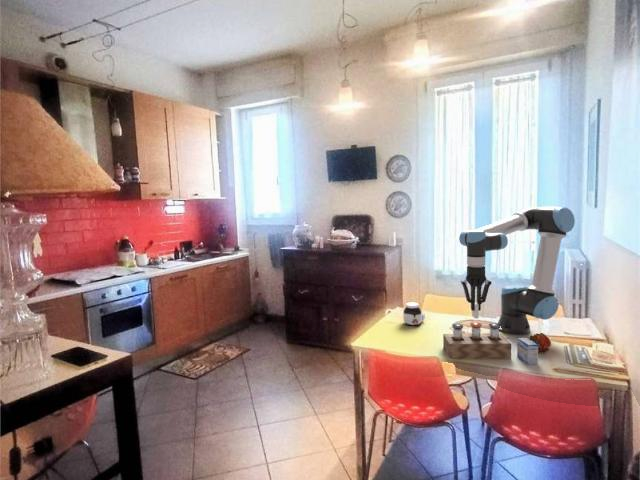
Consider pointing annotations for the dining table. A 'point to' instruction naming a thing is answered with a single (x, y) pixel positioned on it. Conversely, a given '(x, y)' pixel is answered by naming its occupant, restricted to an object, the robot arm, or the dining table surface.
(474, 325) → the plunger
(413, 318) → the spread jar
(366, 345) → the dining table surface
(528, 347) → the medicine box
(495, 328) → the plunger
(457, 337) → the plunger
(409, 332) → the dining table surface
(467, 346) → the block
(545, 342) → the dragon fruit
